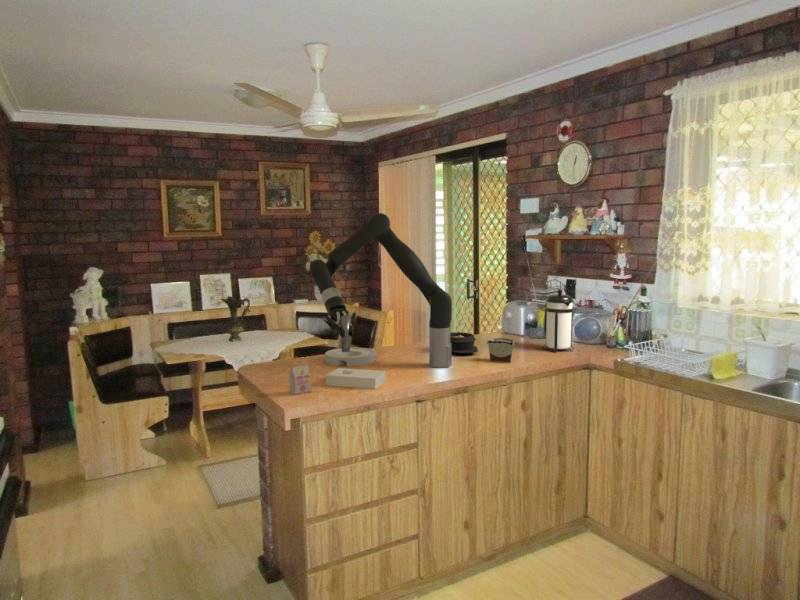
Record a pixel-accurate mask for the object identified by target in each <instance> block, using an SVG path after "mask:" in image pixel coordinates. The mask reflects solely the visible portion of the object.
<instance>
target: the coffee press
mask: <svg viewBox="0 0 800 600" xmlns="http://www.w3.org/2000/svg"><path fill="white" fill-rule="evenodd" d="M545 302H546V307H545V309H544V323H543V324H544V327H543V328H544V334H545V344H544V345H543V347H542V348H543V349H544V348H545V349H547V348H550V349H553V353H556V352H557V353H558V350H569V351H571V352H574V351H575V348H574V347H573V316H574V315H573V313H574V312H573V311H574V310H573V309H574V307H573V303H574V300H573V297H571V296H570V295H568V294H563V290H561V289H558V290H557V294H550V295H548V296H547V298H546V299H545ZM545 349H544V350H545Z"/></svg>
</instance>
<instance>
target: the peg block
mask: <svg viewBox="0 0 800 600" xmlns="http://www.w3.org/2000/svg"><path fill="white" fill-rule="evenodd" d="M385 382H386V371H385V370H373V369H359V368H343V367H337V368H336V369H334V370H332V371H330V372H329V373H327V374H326V375H325V385H326V386H328V387H329V386H331V387H342V388H343V387H345V388H358V389H359V388H360V389H369V390H371V389H372V390H376V389H377V388H378V387H380V386H381V385H382V384H383V383H385Z"/></svg>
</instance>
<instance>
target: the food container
mask: <svg viewBox="0 0 800 600" xmlns="http://www.w3.org/2000/svg"><path fill="white" fill-rule="evenodd" d="M486 344H487V345H488V353H489V362H493V361H494V362H496V363H504V362H505V363H506V364H511V362H512V357H513V347H514V346H515V341H514V339H512V338H505V337H493V338H492V337H491V338H488V339H487V343H486Z"/></svg>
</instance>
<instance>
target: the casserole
mask: <svg viewBox="0 0 800 600" xmlns="http://www.w3.org/2000/svg"><path fill="white" fill-rule="evenodd" d="M476 340H477V339H476V338H475V335H474V334H473V333H470V332H460V331H459V332H458V331H457V332H450V343H451V344H452V354H455V355H457V354H464V355H465V354H474V353H477V352H479V349H478V347H477V345H475V341H476Z"/></svg>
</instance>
